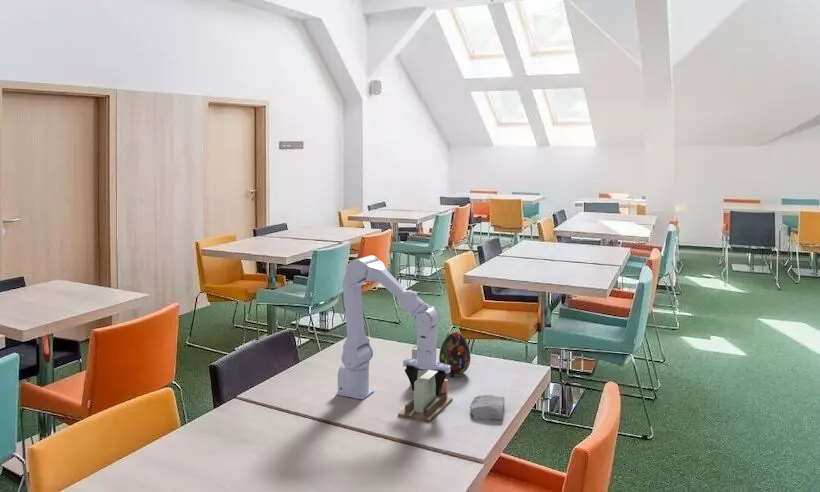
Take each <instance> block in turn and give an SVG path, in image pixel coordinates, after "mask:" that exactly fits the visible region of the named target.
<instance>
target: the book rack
mask: <svg viewBox="0 0 820 492" xmlns="http://www.w3.org/2000/svg"><path fill="white" fill-rule="evenodd" d="M448 385H449V380H448V378H447V379H446V378H445V380H444V382H443V385H442V388H441V393H440V395H438V397H437V398H436V399H435V400H434V401H433V402H432V403H431V404H430V405H429V406H427V407H426V408H425V412H424V413H420V412H415V411H414V397H413V398H412V399H410V401H408V402H407V403H406V404H405V405H404V408H402V410H401V411H399V412H398V413H397V417H400V418H406V419H410V420H413V421H415V420H416V421H420V422H421V421H422V422H426V423H431V422H432V421H434V419H435V418H436V417H437V416H438V415H439V414H440V413H441V412H442V411H443V410H444V409H445V408H446V407H447V406H448V405H449V404H450V403H452V401H453V397H450V396H448V395H449V394H448V392H449V391H448V390H449V386H448Z"/></svg>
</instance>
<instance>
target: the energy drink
mask: <svg viewBox="0 0 820 492" xmlns="http://www.w3.org/2000/svg"><path fill="white" fill-rule="evenodd" d="M411 359H417V345H416V346H413V347H412V349H411ZM427 371H429V370H427V369H419V368H418V375H417V379H419V378H420V377H421V376H422V375H424V374H425V373H426V372H427Z"/></svg>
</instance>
